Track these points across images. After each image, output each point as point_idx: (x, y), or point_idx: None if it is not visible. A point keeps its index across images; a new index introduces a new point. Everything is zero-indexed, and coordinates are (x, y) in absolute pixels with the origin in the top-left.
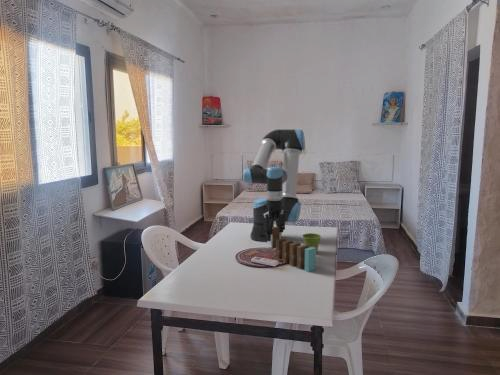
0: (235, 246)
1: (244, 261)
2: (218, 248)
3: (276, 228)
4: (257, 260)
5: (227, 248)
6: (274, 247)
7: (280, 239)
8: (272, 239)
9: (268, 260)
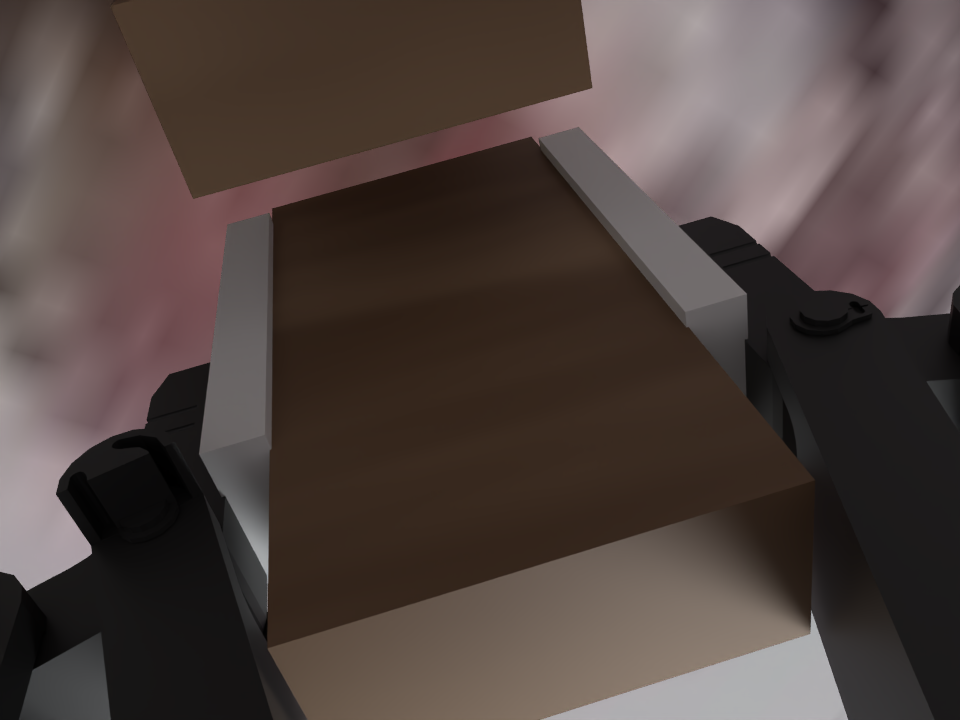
0: (642, 707)
1: (938, 168)
2: (837, 688)
3: (499, 553)
4: (753, 116)
5: (761, 670)
6: (455, 166)
7: (400, 46)
8: (616, 227)
9: (592, 17)
